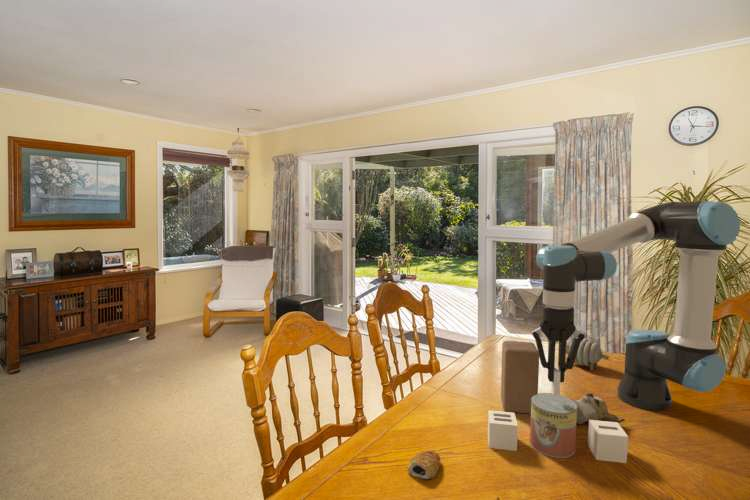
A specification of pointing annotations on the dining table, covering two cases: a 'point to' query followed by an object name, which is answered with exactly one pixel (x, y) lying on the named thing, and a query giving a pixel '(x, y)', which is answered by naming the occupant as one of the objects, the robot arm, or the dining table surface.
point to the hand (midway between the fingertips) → (555, 393)
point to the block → (519, 375)
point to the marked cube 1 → (502, 430)
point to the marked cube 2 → (607, 441)
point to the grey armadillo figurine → (588, 353)
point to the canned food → (553, 425)
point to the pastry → (424, 465)
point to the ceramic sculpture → (593, 410)
